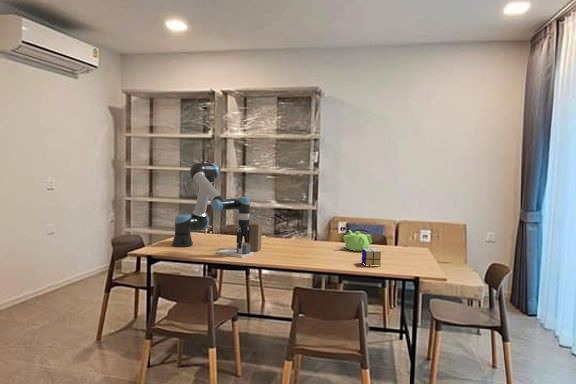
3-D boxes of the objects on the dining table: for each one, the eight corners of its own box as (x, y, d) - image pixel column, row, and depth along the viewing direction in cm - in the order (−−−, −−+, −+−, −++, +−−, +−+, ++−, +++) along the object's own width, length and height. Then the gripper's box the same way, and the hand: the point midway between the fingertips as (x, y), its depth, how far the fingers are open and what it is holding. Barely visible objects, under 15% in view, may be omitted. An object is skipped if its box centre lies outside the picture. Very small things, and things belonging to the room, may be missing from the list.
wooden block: (257, 251, 314) (258, 224, 313) (244, 250, 316) (245, 223, 315) (261, 249, 324) (262, 222, 323) (248, 248, 326) (249, 222, 325)
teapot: (364, 253, 323) (365, 234, 322) (339, 250, 332) (340, 231, 331) (372, 249, 339) (373, 231, 338) (348, 246, 349) (349, 228, 348)
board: (216, 253, 304) (216, 251, 304) (228, 250, 316) (228, 248, 316) (241, 257, 293) (242, 255, 293) (253, 254, 305) (253, 252, 305)
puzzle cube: (361, 263, 291) (362, 248, 290) (375, 263, 292) (376, 248, 291) (365, 266, 281) (366, 251, 280) (380, 266, 282) (381, 251, 281)
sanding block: (236, 252, 301) (236, 244, 300) (240, 251, 305) (241, 243, 305) (246, 254, 297) (246, 245, 296) (250, 252, 301) (250, 244, 301)
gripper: (240, 221, 290) (239, 255, 291) (255, 218, 306) (254, 251, 307) (231, 219, 294) (230, 253, 295) (247, 217, 309) (246, 249, 311)
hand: (242, 252), depth 301 cm, fingers closed on sanding block, 5 cm apart
